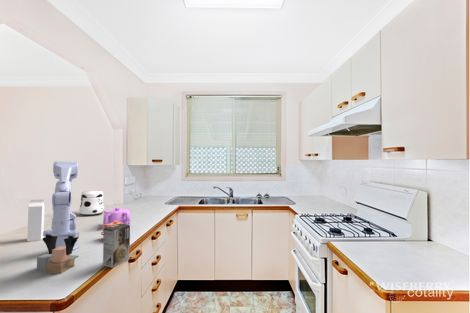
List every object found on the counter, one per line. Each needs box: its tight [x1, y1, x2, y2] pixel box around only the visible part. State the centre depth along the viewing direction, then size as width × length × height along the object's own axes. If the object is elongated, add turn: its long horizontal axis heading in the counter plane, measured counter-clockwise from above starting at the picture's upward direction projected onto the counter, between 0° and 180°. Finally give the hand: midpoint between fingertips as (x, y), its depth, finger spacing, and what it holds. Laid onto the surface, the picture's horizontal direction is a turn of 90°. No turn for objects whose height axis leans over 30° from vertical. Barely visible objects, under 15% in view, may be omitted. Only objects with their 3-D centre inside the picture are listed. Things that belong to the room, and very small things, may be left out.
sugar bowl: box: [100, 221, 123, 238], centre depth 139 cm, size 12×14×10 cm
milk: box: [26, 199, 45, 242], centre depth 135 cm, size 6×6×22 cm
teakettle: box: [102, 206, 131, 228], centre depth 166 cm, size 17×17×12 cm
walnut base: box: [44, 257, 76, 274], centre depth 100 cm, size 7×7×4 cm
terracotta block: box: [52, 246, 69, 263], centre depth 100 cm, size 4×4×5 cm
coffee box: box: [102, 223, 131, 269], centre depth 107 cm, size 9×6×16 cm
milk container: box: [79, 190, 105, 216], centre depth 197 cm, size 17×17×18 cm
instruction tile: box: [69, 254, 79, 259], centre depth 110 cm, size 8×6×1 cm
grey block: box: [36, 253, 52, 271], centre depth 101 cm, size 4×4×5 cm
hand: (60, 253), depth 100 cm, fingers open, 7 cm apart
